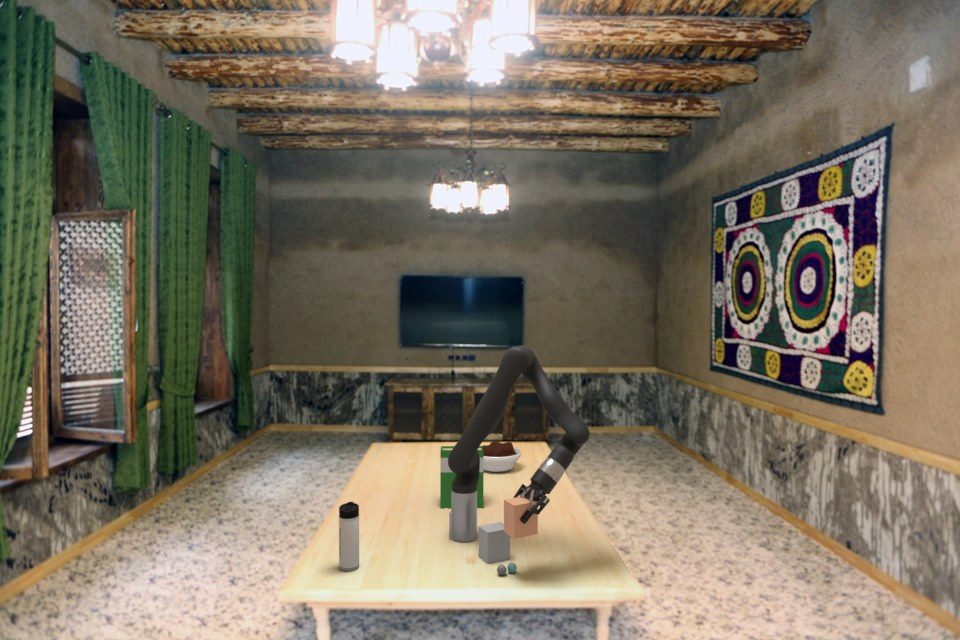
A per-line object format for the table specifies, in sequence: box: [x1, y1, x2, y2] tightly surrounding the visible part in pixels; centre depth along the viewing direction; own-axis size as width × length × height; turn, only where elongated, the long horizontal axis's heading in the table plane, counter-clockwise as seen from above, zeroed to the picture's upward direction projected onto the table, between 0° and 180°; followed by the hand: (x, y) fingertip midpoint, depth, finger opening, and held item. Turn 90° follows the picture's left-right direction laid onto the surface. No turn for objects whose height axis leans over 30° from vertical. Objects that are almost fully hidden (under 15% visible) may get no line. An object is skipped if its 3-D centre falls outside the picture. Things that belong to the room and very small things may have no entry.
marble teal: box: [506, 562, 518, 574], centre depth 187 cm, size 3×3×3 cm
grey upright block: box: [477, 521, 511, 565], centre depth 197 cm, size 8×6×10 cm
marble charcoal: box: [496, 564, 508, 576], centre depth 185 cm, size 3×3×3 cm
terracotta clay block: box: [503, 496, 539, 540], centre depth 185 cm, size 8×6×10 cm
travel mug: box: [338, 501, 360, 572], centre depth 190 cm, size 6×7×20 cm
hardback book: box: [439, 445, 485, 510], centre depth 248 cm, size 18×7×24 cm, turn 92°
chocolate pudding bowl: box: [482, 439, 522, 473], centre depth 302 cm, size 25×25×15 cm
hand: (516, 518), depth 185 cm, fingers closed on terracotta clay block, 6 cm apart
